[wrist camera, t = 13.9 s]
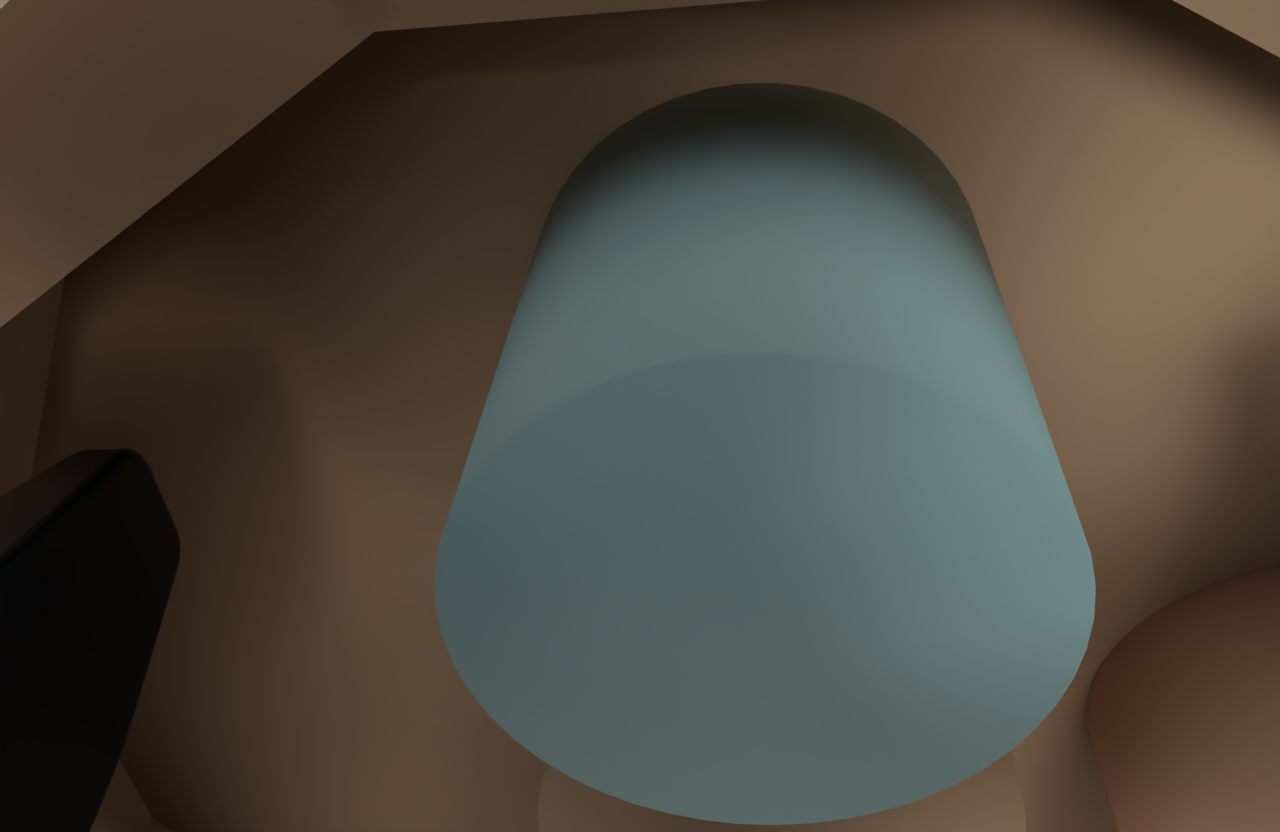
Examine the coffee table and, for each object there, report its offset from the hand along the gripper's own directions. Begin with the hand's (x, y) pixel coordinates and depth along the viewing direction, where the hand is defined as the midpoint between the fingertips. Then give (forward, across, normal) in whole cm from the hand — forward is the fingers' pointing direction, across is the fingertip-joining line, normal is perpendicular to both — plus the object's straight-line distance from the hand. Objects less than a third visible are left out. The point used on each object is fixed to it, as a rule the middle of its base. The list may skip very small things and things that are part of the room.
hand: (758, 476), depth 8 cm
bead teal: (+3, 0, 0) cm, 3 cm away
